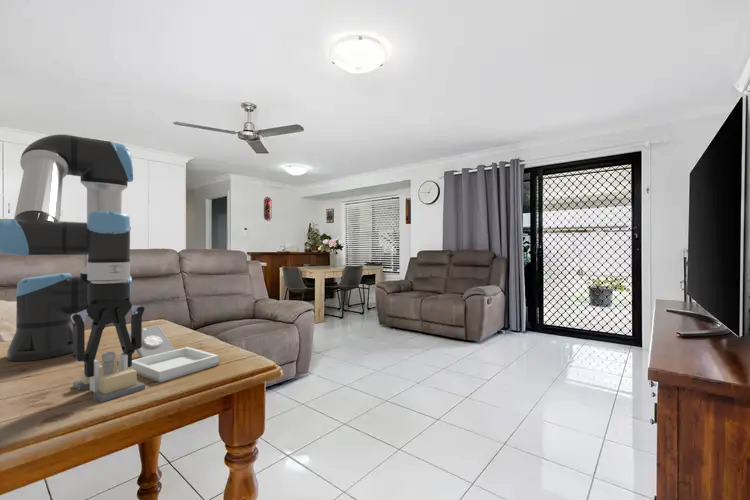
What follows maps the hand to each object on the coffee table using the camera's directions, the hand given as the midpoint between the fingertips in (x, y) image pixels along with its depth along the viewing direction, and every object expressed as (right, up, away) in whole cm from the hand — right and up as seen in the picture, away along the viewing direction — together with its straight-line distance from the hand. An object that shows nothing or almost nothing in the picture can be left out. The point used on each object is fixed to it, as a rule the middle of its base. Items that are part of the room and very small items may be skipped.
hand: (109, 386), depth 77 cm
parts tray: (+7, 0, +13) cm, 15 cm away
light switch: (-5, -1, +22) cm, 22 cm away
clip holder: (0, 0, 0) cm, 0 cm away
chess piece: (0, -1, 0) cm, 1 cm away
